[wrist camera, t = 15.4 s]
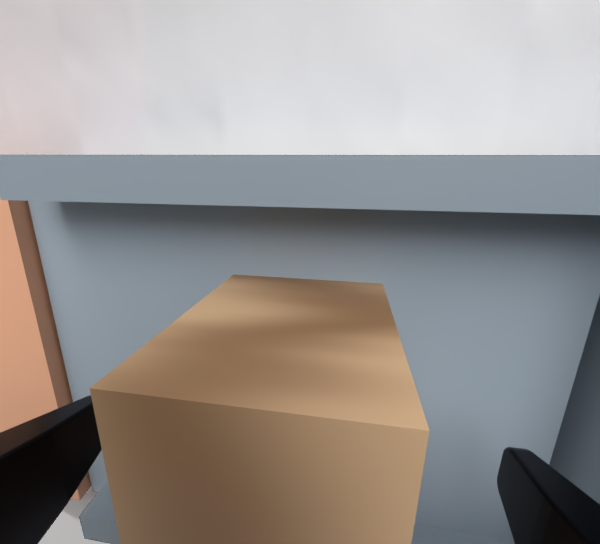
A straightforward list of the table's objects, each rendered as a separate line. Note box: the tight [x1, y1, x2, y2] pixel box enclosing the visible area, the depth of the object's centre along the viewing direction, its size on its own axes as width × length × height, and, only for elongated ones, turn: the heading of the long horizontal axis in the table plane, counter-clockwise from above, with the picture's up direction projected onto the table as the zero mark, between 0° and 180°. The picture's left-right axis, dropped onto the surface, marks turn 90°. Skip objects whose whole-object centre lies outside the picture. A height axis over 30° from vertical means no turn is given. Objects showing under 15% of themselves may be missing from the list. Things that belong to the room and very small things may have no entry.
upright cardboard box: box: [90, 274, 429, 544], centre depth 7 cm, size 4×6×5 cm, turn 179°
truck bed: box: [0, 155, 600, 544], centre depth 8 cm, size 19×12×6 cm, turn 89°
